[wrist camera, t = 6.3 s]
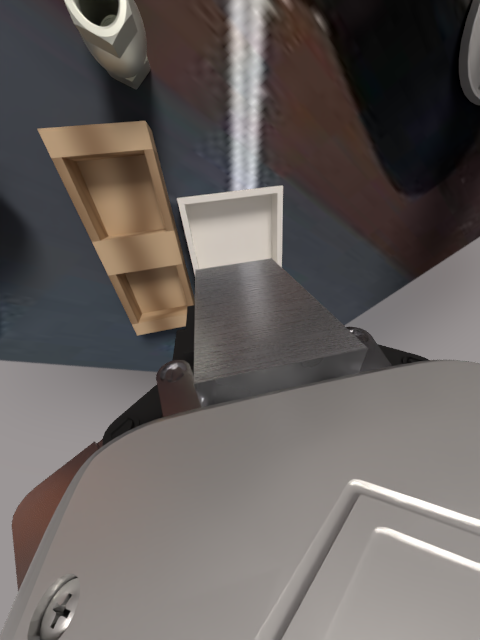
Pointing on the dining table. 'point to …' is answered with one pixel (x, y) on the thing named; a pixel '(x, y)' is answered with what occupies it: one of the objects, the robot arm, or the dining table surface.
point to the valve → (113, 37)
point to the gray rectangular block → (264, 334)
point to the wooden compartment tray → (126, 217)
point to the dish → (233, 226)
